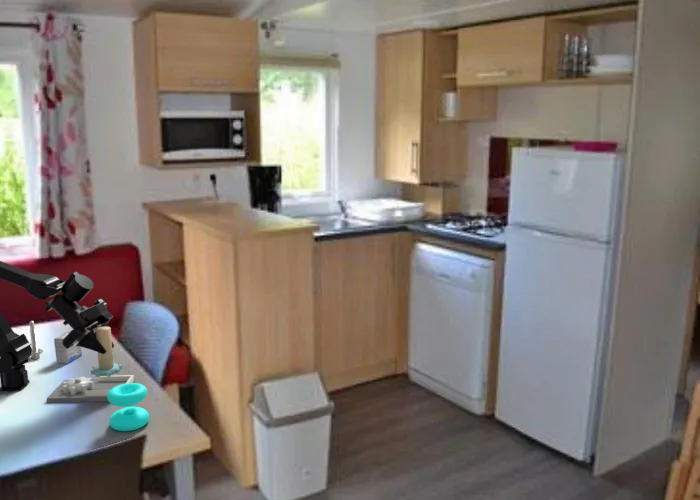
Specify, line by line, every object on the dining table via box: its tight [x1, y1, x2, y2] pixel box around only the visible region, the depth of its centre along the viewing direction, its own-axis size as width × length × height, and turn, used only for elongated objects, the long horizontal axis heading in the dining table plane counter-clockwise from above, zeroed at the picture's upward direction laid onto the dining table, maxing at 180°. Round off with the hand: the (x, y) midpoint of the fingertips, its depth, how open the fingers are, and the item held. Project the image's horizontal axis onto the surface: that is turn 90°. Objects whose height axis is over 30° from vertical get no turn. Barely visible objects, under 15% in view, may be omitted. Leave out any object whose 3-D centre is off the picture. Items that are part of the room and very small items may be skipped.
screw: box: [29, 320, 44, 360], centre depth 220 cm, size 13×5×5 cm
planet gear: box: [90, 326, 123, 378], centre depth 190 cm, size 8×8×13 cm
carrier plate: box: [46, 374, 136, 403], centre depth 193 cm, size 21×13×4 cm, turn 92°
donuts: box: [107, 382, 150, 432], centre depth 173 cm, size 10×10×10 cm
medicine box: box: [53, 330, 83, 365], centre depth 219 cm, size 8×4×9 cm, turn 168°
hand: (109, 350), depth 190 cm, fingers closed on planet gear, 4 cm apart
